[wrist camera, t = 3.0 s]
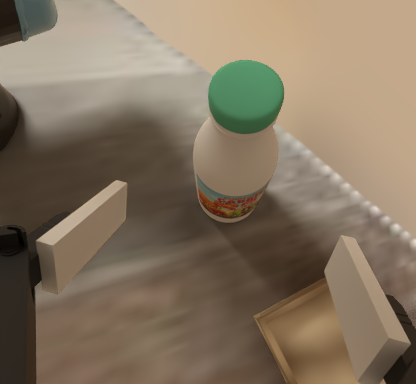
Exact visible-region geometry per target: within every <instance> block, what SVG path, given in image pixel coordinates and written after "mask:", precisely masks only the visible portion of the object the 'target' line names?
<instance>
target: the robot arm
mask: <svg viewBox="0 0 416 384" xmlns="http://www.w3.org/2000/svg"><path fill="white" fill-rule="evenodd" d="M57 17H58V14H57V9H56V6H55V3H54V0H0V47H1V46H4V45H8V44H11V43H14V42H18V41H21V40H22V41H27V40H28V38H29V37H32V36H34V35H37V34H40V33H43V32H46V31H48V30H51V29H52V28H53V27H54V26H55V24H56V22H57ZM17 118H18V110H17V105H16V102H15V100H14V98H13V96H12V95H11V94H10V93H9V92H8V91H7V90H6V89H5V88H4V87H3V86H2V85H1V84H0V150H1V149H2V148H3V147H4V146H5V144H6V143H7V142H8V140H9V139H10V137H11V136H12V134H13V132H14V129H15V127H16V124H17ZM126 206H127V183H126V182H122V181H118V180H115V181H114V182H113V183H111V184H110V185H109V186H107V187H106V188H105V189H103V190H102V191H101V192H100V193H98V194H97V195H96V196H94V197H93V198H92V199H90V200H89V201H88V202H86V203H85V204H84V205H82V206H81V207H80V208H78V209H77V210H76V211H74V212H73V213H69V212H64V213H62V214H59V215H56V216H55V217H53V218H52V219H51V220H49V221H48V222H46V223H45V224H43V225H42V227H39V228H38V229H36V230H35V231H34V232H32V233H31V234H29V235H28V236H26V231H25V229H24V228H23V227H21V226H16V225H7V226H2V227H0V384H36V314H35V286H36V285H37V284H38V283H39V282H40V281H41V282H42V289H43V290H45V291H48V292H52V293H55V294H59V293H60V292H61V291H62V290H63V288H64V287H65V286H66V285H67V284H68V283H69V282H70V281H71V280H72V279H73V278H74V276H75V275H76V274H77V273H78V272H79V271H80V270H81V269H82V268H83V267H84V265H85V264H86V263H87V262H88V261H89V260H90V259H91V258H92V257H93V256H94V254H95V253H96V252H97V251H98V250H99V249H100V248H101V247H102V246H103V245H104V243H105V242H106V241H107V240H108V239H109V238H110V237H111V236H112V235H113V234H114V232H115V231H116V230H117V229H118V228H119V227H120V226H121V225H122V224H123V223H124V221H125V220H126ZM324 273H325V276H326V279H327V283H328V286H329V289H330V293H331V296H332V300H333V303H334V306H335V310H336V313H337V316H338V320H339V323H340V326H341V330H342V333H343V337H344V340H345V343H346V347H347V350H348V353H349V357H350V360H351V363H352V367H353V370H354V374H355V377H356V380H357V382H359V383H362V384H380V383H381V381H382V380H383V379H384V381H385V383H386V384H416V329H415V327H414V326H412V322H411V320H410V319H409V318H408V315H407V314H406V312H405V310H404V308H403V307H402V305H401V304H400V303H399V302H398V301H397V300H396V299H395V298H394V297H393V296H390V295H386V294H384V292H383V290H382V289H381V287H380V285H379V283H378V281H377V279H376V277H375V275H374V274H373V272H372V270H371V268H370V266H369V264H368V262H367V260H366V259H365V257H364V255H363V253H362V251H361V249H360V247H359V246H358V244H357V242H356V240H355V238H351V237H347V236H343V235H341V236H340V238H339V241H338V243H337V245H336V247H335V249H334V251H333V253H332V255H331V257H330V259H329V262H328V264H327V266H326V268H325V270H324Z"/></svg>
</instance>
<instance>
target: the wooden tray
mask: <svg viewBox="0 0 416 384" xmlns="http://www.w3.org/2000/svg"><path fill="white" fill-rule="evenodd" d="M254 319H255V321H256V323H257V325H258V327H259V329H260V331H261V333H262V335H263V337H264V339H265V341H266V343H267V345H268V347H269V349H270V351H271V353H272V355H273V357H274V359H275V361H276V363H277V365H278V367H279V369H280V371H281V373H282V375H283V377H284V379H285V381H286V383H287V384H362V383H359V382H357V380H356V377H355V374H354V370H353V367H352V363H351V360H350V357H349V353H348V350H347V347H346V343H345V340H344V337H343V333H342V330H341V326H340V323H339V320H338V316H337V313H336V310H335V306H334V303H333V300H332V296H331V293H330V289H329V286H328V283H327V279H326V277H324V278H323V279H321V280H319V281H317V282H315V283H313V284H312V285H310V286H308V287H306V288H304V289H302V290H301V291H299V292H297V293H295V294H293V295H291V296H290V297H288V298H286V299H284V300H282V301H280V302H279V303H277V304H275V305H273V306H271V307H270V308H268V309H266V310H264V311H262V312H260V313H259V314H257V315H255V316H254ZM380 384H386V383H385V381H384V379H383V380H382V381H381V383H380Z"/></svg>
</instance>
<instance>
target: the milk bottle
mask: <svg viewBox="0 0 416 384" xmlns="http://www.w3.org/2000/svg"><path fill="white" fill-rule="evenodd" d="M283 99H284V87H283V83H282V81H281V79H280V77H279V76H278V75H277V73H276V72H275V71H274V70H273V69H271V68H270V67H268V66H267V65H265V64H262V63H260V62H256V61H251V60H240V61H235V62H231V63H229V64H227V65H225V66H223V67H222V68H220V69H219V70H218V71H217V72H216V73H215V75H214V76H213V78H212V80H211V83H210V86H209V94H208V101H209V115H210V117H209V118H208V119H207V120H206V121H205V123H204V124H203V125H202V127H201V128H200V130H199V132H198V134H197V137H196V140H195V143H194V149H193V166H194V174H195V182H196V188H197V195H198V200H199V203H200V205H201V207H202V209H203V210H204V212H205V213H206V214H207V215H208V216H210V217H211V218H213V219H215V220H217V221H220V222H225V223H232V222H237V221H240V220H242V219H244V218H246V217H247V216H248V215H250V214H251V212H252V211H253V210H254V208H255V207H256V205H257V203H258V202H259V200H260V198H261V196H262V194H263V193H264V191H265V189H266V187H267V185H268V183H269V181H270V179H271V177H272V175H273V173H274V170H275V167H276V164H277V159H278V142H277V137H276V134H275V131H274V129H273V127H272V126H273V125H274V124H275V122H276V119H277V116H278V113H279V111H280V109H281V106H282V103H283Z"/></svg>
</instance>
